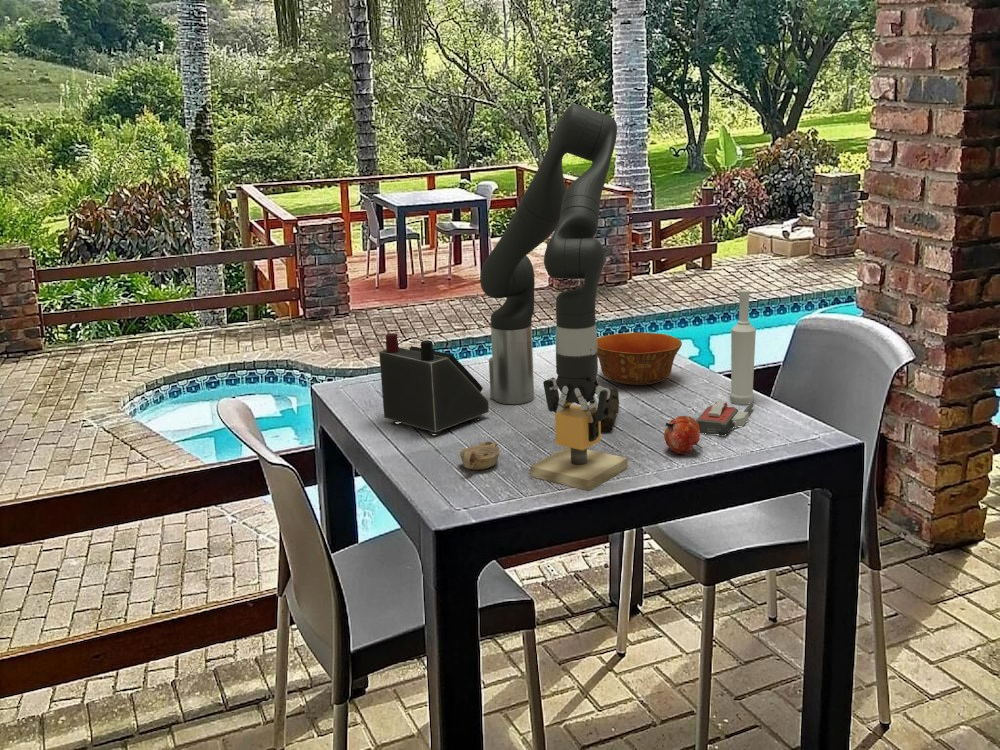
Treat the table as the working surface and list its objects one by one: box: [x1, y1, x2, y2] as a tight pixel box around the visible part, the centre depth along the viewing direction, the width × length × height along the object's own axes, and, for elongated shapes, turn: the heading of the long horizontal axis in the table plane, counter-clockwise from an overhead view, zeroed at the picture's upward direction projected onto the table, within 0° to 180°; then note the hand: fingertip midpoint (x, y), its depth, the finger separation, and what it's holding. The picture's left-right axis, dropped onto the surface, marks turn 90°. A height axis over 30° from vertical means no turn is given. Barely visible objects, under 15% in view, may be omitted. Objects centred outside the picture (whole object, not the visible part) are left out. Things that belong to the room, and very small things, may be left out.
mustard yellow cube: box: [554, 404, 602, 450], centre depth 194 cm, size 6×6×6 cm
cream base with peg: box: [529, 447, 628, 491], centre depth 195 cm, size 13×13×10 cm
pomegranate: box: [663, 415, 703, 455], centre depth 204 cm, size 7×7×10 cm
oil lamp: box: [459, 441, 500, 471], centre depth 201 cm, size 13×8×5 cm, turn 157°
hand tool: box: [601, 388, 620, 434], centre depth 225 cm, size 19×4×5 cm, turn 164°
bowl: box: [597, 331, 683, 386], centre depth 250 cm, size 21×21×10 cm
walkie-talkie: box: [695, 401, 754, 435], centre depth 220 cm, size 9×4×20 cm
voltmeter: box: [378, 333, 490, 435], centre depth 226 cm, size 16×16×20 cm
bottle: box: [729, 289, 757, 405], centre depth 229 cm, size 5×5×25 cm
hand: (578, 437), depth 194 cm, fingers closed on mustard yellow cube, 5 cm apart
